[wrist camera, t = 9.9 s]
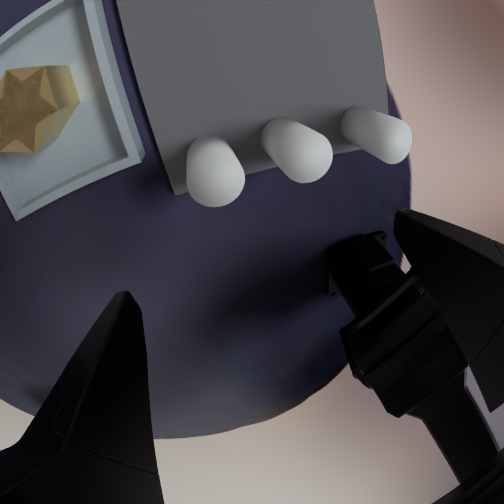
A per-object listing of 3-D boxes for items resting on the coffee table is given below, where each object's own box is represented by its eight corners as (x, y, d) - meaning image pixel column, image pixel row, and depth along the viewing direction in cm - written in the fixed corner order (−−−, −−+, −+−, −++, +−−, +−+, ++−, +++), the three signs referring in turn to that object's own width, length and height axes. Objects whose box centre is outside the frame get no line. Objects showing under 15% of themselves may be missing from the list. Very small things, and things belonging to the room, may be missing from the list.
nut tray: (145, 153, 17) (141, 162, 15) (27, 208, 16) (16, 221, 14) (98, -13, 9) (89, -21, 7) (-23, 70, 8) (-38, 73, 6)
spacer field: (386, 143, 20) (425, 164, 16) (175, 193, 19) (173, 229, 15) (347, -73, 7) (382, -92, 3) (107, -52, 6) (87, -79, 3)
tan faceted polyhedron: (87, 121, 14) (66, 132, 11) (32, 153, 14) (7, 171, 11) (64, 47, 10) (39, 44, 7) (8, 86, 10) (-20, 93, 7)
